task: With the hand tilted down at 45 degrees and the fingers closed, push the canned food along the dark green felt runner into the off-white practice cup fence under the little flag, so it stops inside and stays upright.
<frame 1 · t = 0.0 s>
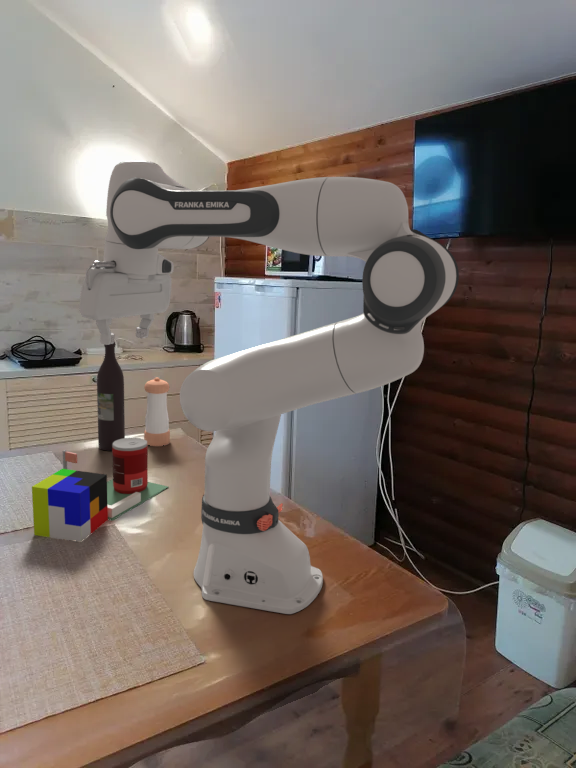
hand: (125, 340, 104), 39 cm above the table, tool pointing down, fingers open, 8 cm apart
felt runner: (116, 496, 133), on the table
cup fence: (104, 503, 130), resting on felt runner
cup: (235, 504, 133), on the table
canned food: (130, 488, 138), resting on felt runner
puzzle toy: (72, 528, 118), on the table
salt shaker: (157, 443, 171), on the table
wine bottle: (111, 447, 165), on the table
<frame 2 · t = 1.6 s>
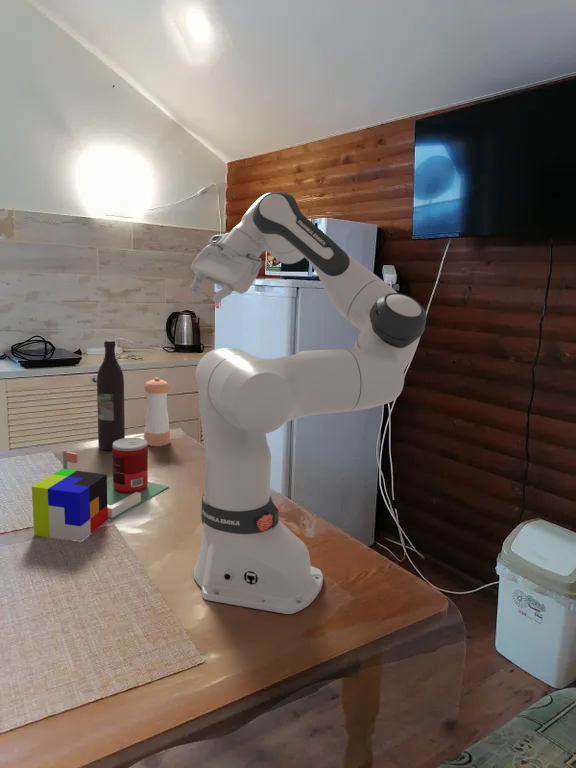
hand: (202, 296, 137), 44 cm above the table, tool tilted 40°, fingers open, 8 cm apart
nothing on the table moved.
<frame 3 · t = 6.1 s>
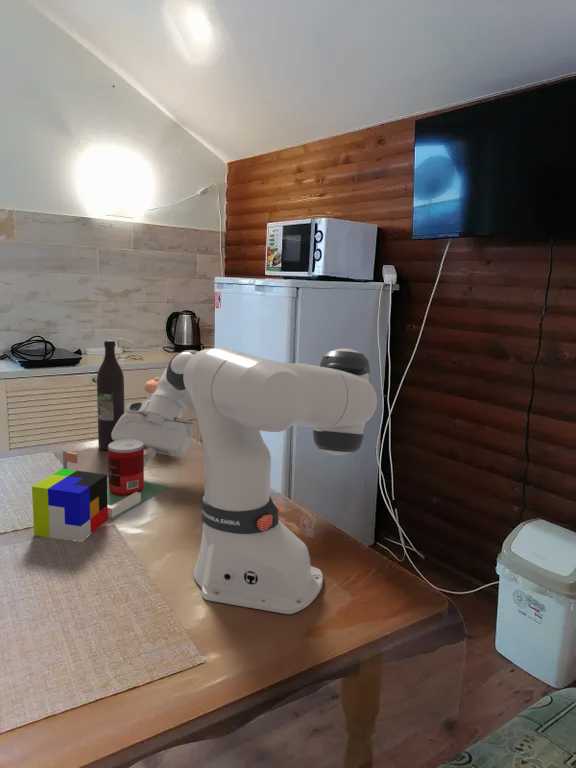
hand: (137, 465, 140), 5 cm above the table, tool tilted 45°, fingers closed
canned food: (126, 490, 136), resting on felt runner, touching gripper
everything else where it was.
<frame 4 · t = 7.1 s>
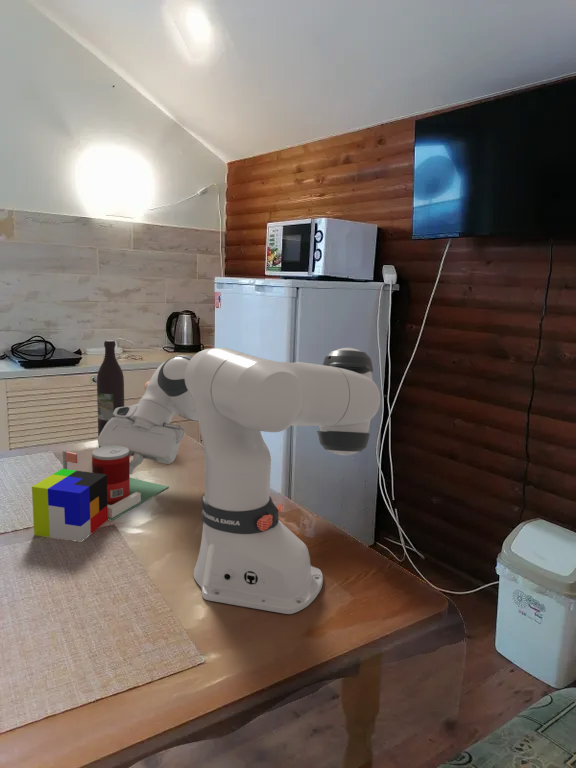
hand: (124, 471, 135), 5 cm above the table, tool tilted 45°, fingers closed, pressing on canned food
canned food: (111, 498, 132), resting on felt runner, touching gripper
everything else where it was.
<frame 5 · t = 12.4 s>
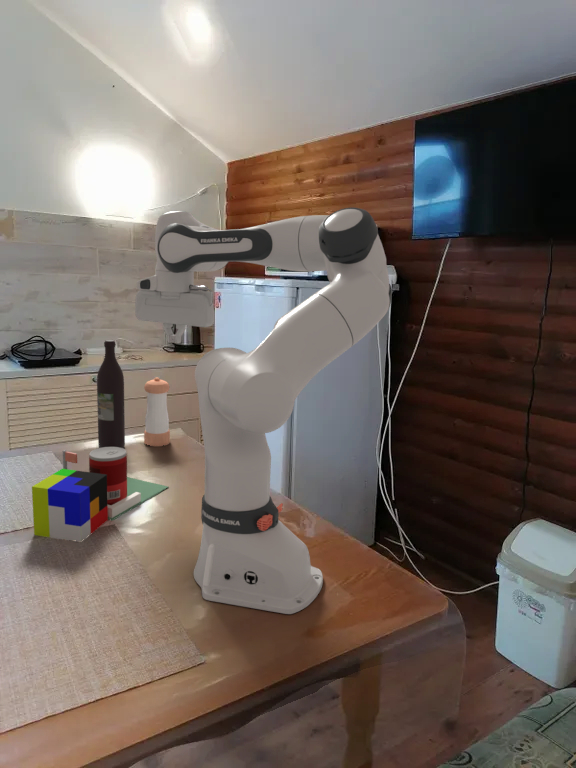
hand: (174, 342, 141), 33 cm above the table, tool pointing down, fingers closed
canned food: (109, 500, 131), resting on felt runner
everything else where it was.
at the end: canned food inside the target area (0.2 cm from its centre), resting on felt runner; canned food tilted 0° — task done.
